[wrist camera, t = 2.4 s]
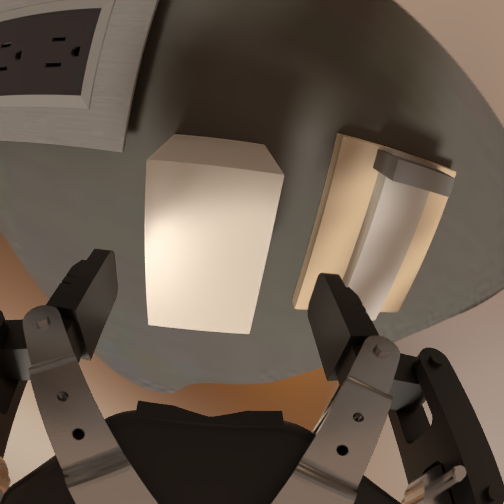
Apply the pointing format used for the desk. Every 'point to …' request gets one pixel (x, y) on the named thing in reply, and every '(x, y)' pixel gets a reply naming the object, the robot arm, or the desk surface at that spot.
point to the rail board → (374, 222)
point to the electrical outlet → (70, 69)
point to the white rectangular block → (208, 231)
